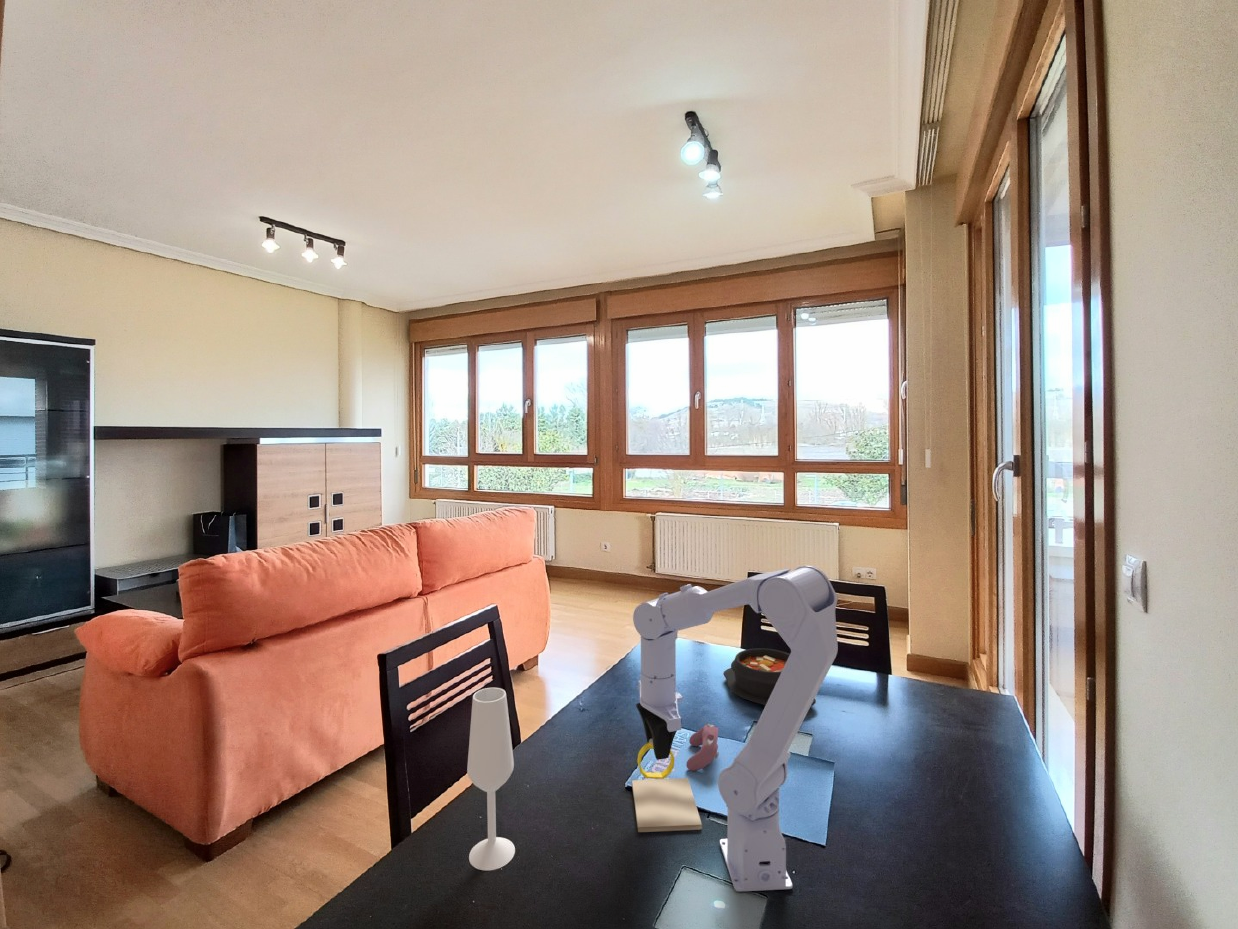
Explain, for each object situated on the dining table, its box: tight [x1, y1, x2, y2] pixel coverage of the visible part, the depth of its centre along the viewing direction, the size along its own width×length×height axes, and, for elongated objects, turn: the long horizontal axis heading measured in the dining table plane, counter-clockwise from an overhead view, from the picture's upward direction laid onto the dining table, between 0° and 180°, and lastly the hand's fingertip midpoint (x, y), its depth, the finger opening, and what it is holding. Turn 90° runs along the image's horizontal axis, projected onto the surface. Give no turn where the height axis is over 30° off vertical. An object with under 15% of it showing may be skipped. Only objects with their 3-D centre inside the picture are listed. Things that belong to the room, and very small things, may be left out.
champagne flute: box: [466, 687, 516, 871], centre depth 83 cm, size 7×7×24 cm
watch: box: [636, 738, 675, 780], centre depth 93 cm, size 6×3×6 cm, turn 97°
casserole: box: [723, 647, 817, 708], centre depth 134 cm, size 25×19×8 cm
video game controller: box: [686, 722, 720, 772], centre depth 107 cm, size 10×5×7 cm, turn 169°
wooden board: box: [631, 777, 703, 833], centre depth 94 cm, size 12×10×1 cm
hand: (658, 752), depth 93 cm, fingers closed on watch, 3 cm apart
